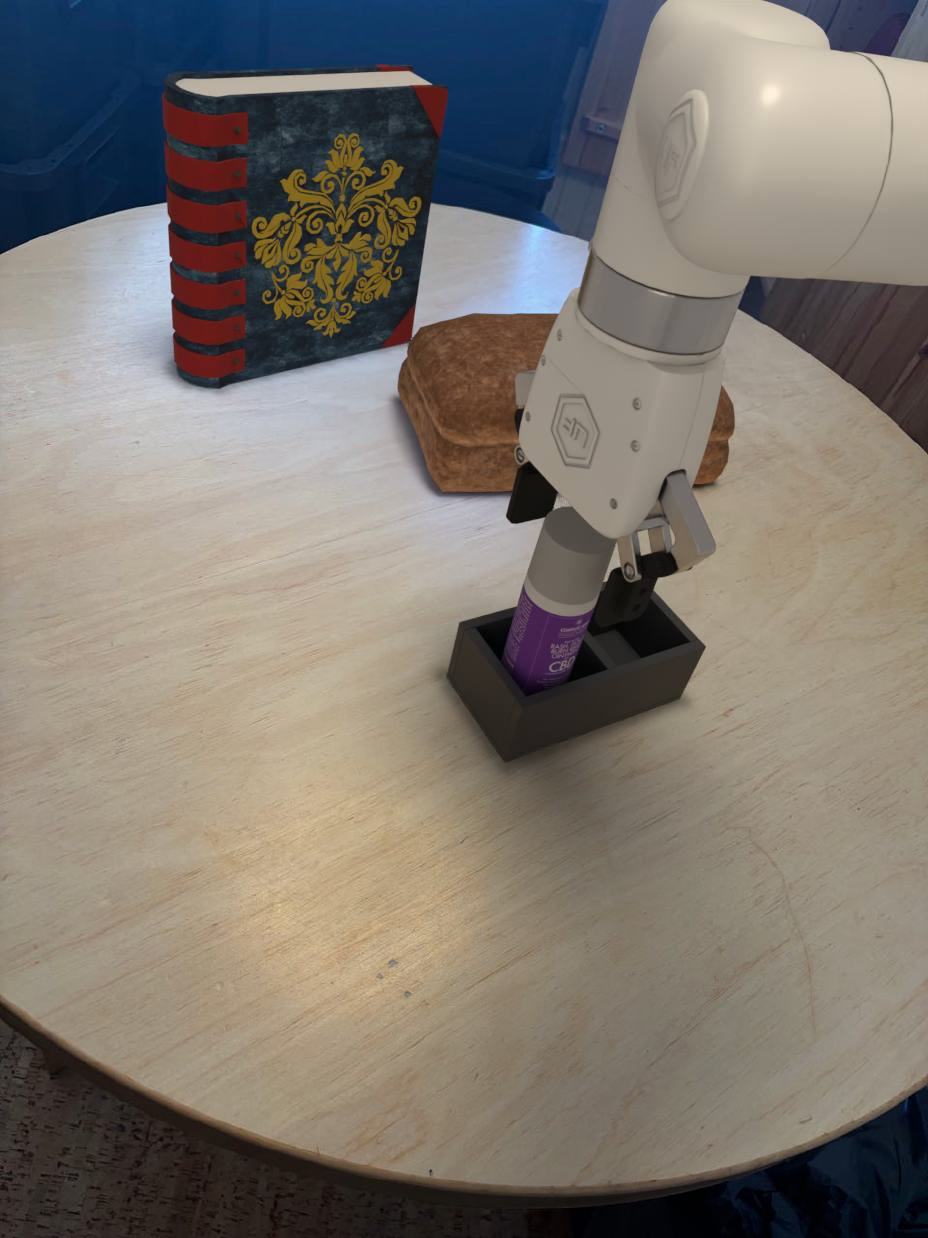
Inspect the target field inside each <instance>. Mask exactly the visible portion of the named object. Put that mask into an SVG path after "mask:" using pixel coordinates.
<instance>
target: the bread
mask: <svg viewBox="0 0 928 1238" xmlns="http://www.w3.org/2000/svg"><path fill="white" fill-rule="evenodd" d="M558 314H559V313H553V312H551V313H549V312H547V313H541V312H540V313H539V312H537V313H535V312H534V313H533V312H532V313H531V312H530V313H529V312H528V313H526V312H525V313H524V312H523V313H521V312H520V313H519V312H518V313H486V312H485V313H483V312H482V313H481V312H473V313H470V314H466V315H462V316H458V317H455V318H450V319H445V320H441V321H438V322H435V323H434V322H433V323H431V324H427V325H424V326H420V327H419V328H418V330H417V331H416V333H415V334H414V335H413V336H412V338H411V341H409V342H408V345H407V350H406V355H407V356H406V357H405V359H404V360H403V362H402V363H401V366H400V369H399V372H398V377H397V391H398V395H399V399H400V401H401V403H402V405H403V407H404V409H405V412H406V414H407V415H408V417H409V420H410V422H411V423H412V426H413V429H414V431H415V434H416V437H417V439H418V442H419V445H420V449H421V452H422V455H423V457H424V459H425V464H426V467H427V470H428V472H429V474H430V477H431V478H432V480H433V481H434V482H435V483H436V485H437V486H438V487H439V489H440V490H441V492H467V493H470V492H471V493H472V492H474V493H475V492H476V493H478V492H479V493H480V492H483V493H484V492H512V489H513V485H514V482H515V478H516V474H517V470H518V468H519V467H521V465H519V464H518V463H517V461H516V459H515V453H514V452H515V448H516V446H517V445H519V444H520V443H519V438H518V434H517V429H516V425H515V421H514V414H515V411H516V410H517V409H519V408H518V405H516V389H515V376H516V374H517V373H518V372H524V371H532V370H536V369H537V366H538V363H539V360H540V358H541V355H542V352H543V349H544V347H545V344H546V342H547V339H548V337H549V334H550V332H551V329H552V327H553V325H554V323H555V321H556V319H557V317H558ZM734 407H735V406H734V403H733V402H732V399H731V397H730V396H729V394H728V392H727V390H726V389H725V386H723V385H722V386H721V390H720V395H719V400H718V405H717V409H716V413H715V417H714V421H713V425H712V429H711V432H710V435H709V439H708V442H707V446H706V449H705V452H704V455H703V458H702V461H701V464H700V467H699V470H698V473H697V475H696V478H695V481H694V484H693V485H704V484H710V483H711V484H712V483H714V482H715V481H716V480H717V479H718V478H719V477H720V476H721V475H723V473H724V470H725V469H726V466H727V465H728V463H729V456H730V444H729V439H730V438H731V437H733V435H734V432H735V427H736V416H735V408H734Z"/></svg>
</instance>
